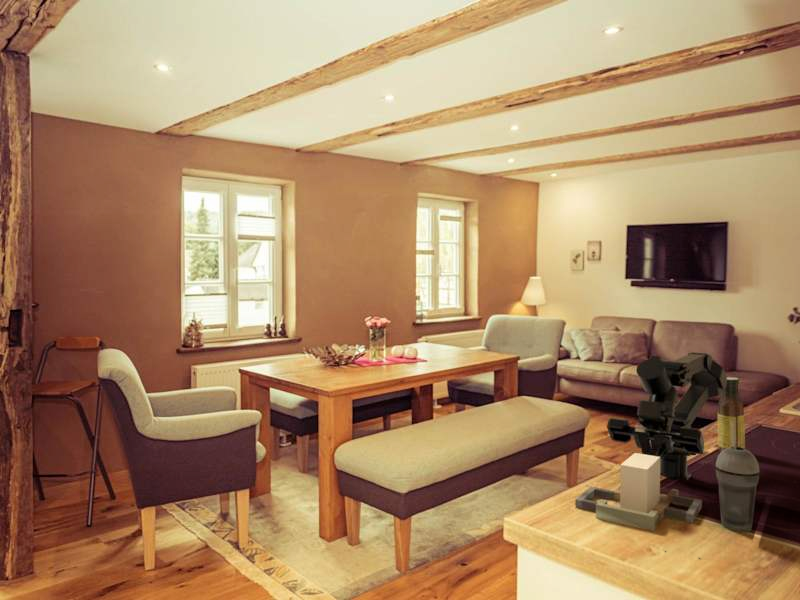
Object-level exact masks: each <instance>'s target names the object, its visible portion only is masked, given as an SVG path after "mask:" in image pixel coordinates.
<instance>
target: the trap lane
mask: <svg viewBox="0 0 800 600" xmlns="http://www.w3.org/2000/svg"><path fill="white" fill-rule="evenodd" d="M594 498H599V499H600V500H599V501H595V500H593V499H594ZM608 501H615V502H613V504H612V505H611V504H608ZM574 502H575V504H574V505H575V508H578V509H581V510H587V511H591V512H594V513H595V518H596V519H599V520H604V521H606V522H607V521H608V522H611V523H616V524H622V525H626V526H630V527H635V528H639V529H643V530H647V531H652V532H654V531H655V530H656V529H657V527H658V525H660V523H661V522H662V520H663V519H664V518H668V519H673V520H677V521H681V522H687V523H692V524H693V523H694V521H695V520H696V518H697V516H698V515H699V513H700V511H701V509H702V508H703V500H702V499H699V498H694V497H690V496H684V495H679V489H676V488H671V489H670V491H669V492H668V493H667V494H664V493H660V501H659V502H658V503H657V505H656V506H655V507H654V508H653V509H652V510H651V511H650V512H649V513H644V512H639V511H634V510H630V509H625V508H620V486H618V488H616V490H609V489H605V488H599V487H595V486H590V487H589V488H588V489H586V490H585V491H584V492H583V493H581V494H580V495H579V496H578V497H577V498H575V501H574ZM670 504H673V505H677V506H682V507H687V508H688V509H687V510H683V509H678V508H673V507H669V506H670Z"/></svg>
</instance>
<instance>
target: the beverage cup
mask: <svg viewBox="0 0 800 600" xmlns="http://www.w3.org/2000/svg"><path fill="white" fill-rule="evenodd" d="M731 426H732V439H733V447H729V448H726V449H725V450H723V451H722V452H721V451H720V453H719V454H718V455H717V458H716V462H715V465H714V469H715V474H716V479H717V484H718V485H717V486H718V496H719V497H718V498H719V509H720V520H721V522H720V523H721V526H722V527H724V529H726V530H729V531H732V532H737V533H748V532H751V531H752V527H753V520H754V514H755V503H756V494H757V493H756V492H757V485H758V483H759V480H760V475H761V470H760V465H759V462H758V459H757V458H756V456H755V455H754V454H753V453H752V452H751V451H750V450H748V449H746V448H741V447H736V437H735V424H734V422H731Z"/></svg>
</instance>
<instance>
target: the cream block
mask: <svg viewBox="0 0 800 600" xmlns="http://www.w3.org/2000/svg"><path fill="white" fill-rule="evenodd" d="M619 471H620V479H619V481H620V484H619V485H620V486H619V487H620V508H625V509H630V510H634V511H639V512H644V513H649V512H650V511H651V510H652V509H653V508H654V507H655V506H656V505H657V503H658V502H659V501H660V494H661V475H660V457H658V456H651V455H645V454H642V453H639V452H638V453H637V452H634V453H633V454H631V456H629V457H628V458H626V460H625V461H623V462H622V463H621V464H620V470H619Z"/></svg>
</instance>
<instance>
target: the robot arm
mask: <svg viewBox="0 0 800 600" xmlns="http://www.w3.org/2000/svg"><path fill="white" fill-rule="evenodd" d="M713 359H714V358H713V357H712V355H711V354H709V353H704V352H693V351H692V352H688V353H687V355H684V356H682V357H680V358H677V359H674V360H667V359H662V356H660V355H650V358H647V359H646V360H642V362H640V363H639V364H638V365H637V366H636V373H637V377H638V378H639V380H640V382H641V384H642V387H643V389H644V391H645V392H646V393H647V394H648V398H647V400H642V399H641V400H639V401H638V407H637V413H636V416H637V417H638V422H639V425H637V424H635V426H630V422H629V419H625V418H618V417H611V418H609V419H608V420H607V424H606V429H607V431H608V434H609V437H610V439H611V440H612V441H614V442H617V443H624V444H627V443H628V442H630V441H631V440H632V437H633V439H634V442H635V445H636V447H637V448H638V449H641V454H645V455H651V456H658V457H660V476H663V477H664V478H671V479H681V480H690V478H691V477H692V473H689V472H688V457H690V456H697V455H702V454H704V450H705V440H704V437H703V432H702V431H701V429H700V428H695V427H692V426H691V425H692V424H693V423H694V421H695V419H696V418H697V416H698V415H699V413H700V412H701V410H702V409H703V407H704V406H705V404H706V402H707V401H708V399H711V398H715V397H718V396H719V395H721V394H722V391H723V389H725V388H726V385H727V375H726V371H725V369H724V367H723V366H721V365H720V364H719V363H717V361H715V360H713ZM688 385H689V387H688V388H687V389H686V391H685V393H683V394H682V395H683V396H682V397H681V398H680V400H679V401H678V395H679V392H678V390H677V388H685V387H686V386H688Z"/></svg>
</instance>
